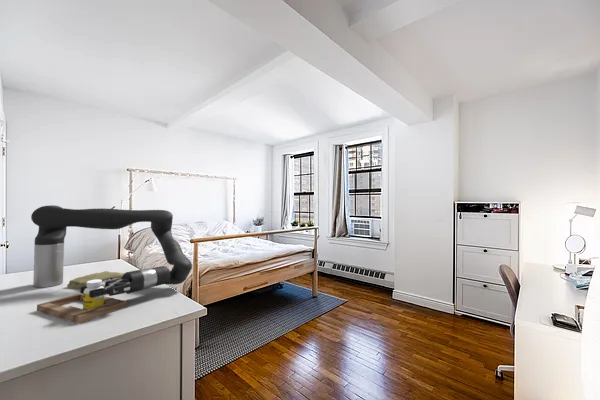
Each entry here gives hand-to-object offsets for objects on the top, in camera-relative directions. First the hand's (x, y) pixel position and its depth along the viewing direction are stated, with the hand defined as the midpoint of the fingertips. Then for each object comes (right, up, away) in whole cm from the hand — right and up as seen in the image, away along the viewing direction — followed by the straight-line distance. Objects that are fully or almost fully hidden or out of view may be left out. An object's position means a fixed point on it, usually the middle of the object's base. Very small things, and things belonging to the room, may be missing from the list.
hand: (85, 292), depth 86 cm
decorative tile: (-17, -8, +31) cm, 36 cm away
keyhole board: (-4, -7, +4) cm, 9 cm away
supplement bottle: (+1, -7, +2) cm, 8 cm away
